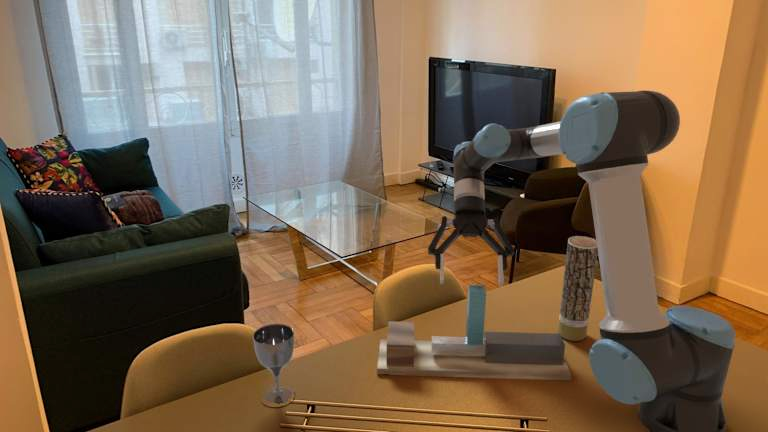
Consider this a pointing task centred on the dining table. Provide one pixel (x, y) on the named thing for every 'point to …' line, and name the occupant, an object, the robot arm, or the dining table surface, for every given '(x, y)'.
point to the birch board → (467, 366)
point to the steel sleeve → (524, 348)
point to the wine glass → (275, 355)
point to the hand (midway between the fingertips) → (471, 283)
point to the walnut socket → (400, 344)
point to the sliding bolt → (474, 329)
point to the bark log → (577, 287)
